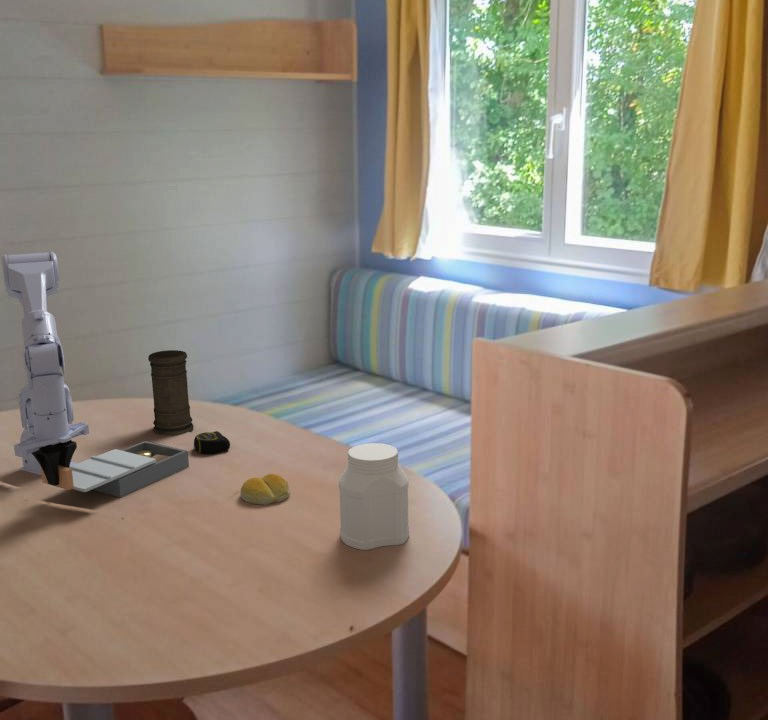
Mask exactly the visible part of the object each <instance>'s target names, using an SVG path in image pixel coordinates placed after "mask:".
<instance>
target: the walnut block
mask: <svg viewBox="0 0 768 720" xmlns="http://www.w3.org/2000/svg"><path fill="white" fill-rule="evenodd" d="M168 457H170V456H165V455H158V454H157V455H155V456H153V457H151V458H154V459H156V462H159V461H161V460H163V459H166V458H168ZM156 462H155V463H156ZM153 464H154V463H153ZM150 465H152V464H150ZM148 466H149V465H148ZM146 467H147V466H146Z"/></svg>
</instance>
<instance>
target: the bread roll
mask: <svg viewBox="0 0 768 720" xmlns="http://www.w3.org/2000/svg"><path fill="white" fill-rule="evenodd" d="M289 487H290V486H289V483H288V481H287V480H286V479H285V478H284V476H282V475H280V474H276V473H275V474H274V473H269V474H268V473H267V474H266V475H264V476H262V477H261V478H259V477H252V478H248V479H247V480H246V481H244V483H243V484H242V486H241V488H240V492H239V493H240V498H241V500H243V501H244V502H246V503H248V504H254V505H268V504H273V503H279V502H283V501H284V500H286V499H287V498H289V497H290V495H291V491H290V490H289Z"/></svg>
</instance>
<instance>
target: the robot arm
mask: <svg viewBox="0 0 768 720" xmlns="http://www.w3.org/2000/svg"><path fill="white" fill-rule="evenodd" d="M1 264H2V271H3V272H2V273H3V281H4V286H5V289H6V290H5V292H6V293H8V294H7V295H8V296H9V297H11V298H15V299H17V300H18V301H19V303H20V305H21V307H22V309H23V310H22V311H23V318H22V319H21V331H22V335H23V336H22V337H23V338H22V339H23V344H24V345H23V346H24V348H23V349H22V358H23V365H24V366H23V367H24V373H25V376H26V378H27V383H26V385H24V386H23V387H22V388H21V389H20V390H19V393H18V397H19V401H18V404H19V412H20V421H21V428H23V431H22V433H21V435H20V438H19V440H20V442H19V443H16V444H14V445H13V449H14V456H15V457H18V458H21V459H22V467H20V468H19V471H25V472H29V473H32V474H36V475H39V476H42V473H41V467H42V469H43V471H44V474H45V476H46V479H47V481H48V484H47V485H49V484H50V485H49V486H53V485H54V486H53V487H56V486H57V485H59V473H58V465H59V466H63V467H67V468H69V466H70V465H71V466H73V465H75V464H78V463H79V462H78V463H77V462H74V461H72V459H73V456H74V454H75V451H76V450H77V447H78V446H77V445H78V444H77V442H76V441H74V440H72V439H74V438H77V437H79V436H86V435H89V434H90V428H89V423H85V422H78V423H74V424H73V422H74V409H73V407H74V406H73V400H72V396H71V391H70V388H69V386H68V385H67V384H66V383H65V382H64V381H65V380H64V375H65V370H66V366H65V365H66V364H65V355H64V354H65V353H64V348H63V346H62V343H61V340H60V338H59V335H58V331H57V330H58V329H57V323H56V318H55V316H54V315H53V314H52V313H51V312H48V306H47V305H48V303H47V302H48V298H49V296H52V295H54V294H56V293H57V292H58V288H59V281H60V276H59V266H58V265H59V264H58V258H57V254H56V253H54V251H49V252H38V253H37V252H36V253H23V254H22V253H20V254H3V256H2V257H1ZM60 368H61V369H60ZM61 370H62V372H61Z"/></svg>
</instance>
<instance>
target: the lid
mask: <svg viewBox="0 0 768 720" xmlns="http://www.w3.org/2000/svg"><path fill="white" fill-rule="evenodd" d="M121 450H122V449H116V448H114V449H112V450H109V451H107V452H103V453H102V454H98V455H97V456H96V455H91V456H90V458H88V459H85V460H84V461H83V460H82V461H81V462H78V464H75V465H73V466H71V465H70V466H69V468H67V467H63V466H59V465H58V473H59V485H57V486H54V485H52V486H53V487H56V488H60V489H64V490H67V491H70V490H75V491H79V492H82V493H87V492H89V491H91V490H92V489H94V488H96V487H99V486H101V485H103V484H106V483H108V482H110V481H113V480H115V479H117V478H120V477H122V476H125V475H127V474H129V473H132V472H134V471H136V470H139V469H141V468H143V467H146V466H148V465H150V464H153V463H155V462H156V459H154V458H150V457H146V456H142V455H137V454H133V453H129V452H125V451H121ZM41 473H42V475H41V480H42V484H46V485H49V486H51V485H50V484H48V481H47V479H46V476H45V474H44V471H43V469H42V467H41ZM92 491H93V490H92Z"/></svg>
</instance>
